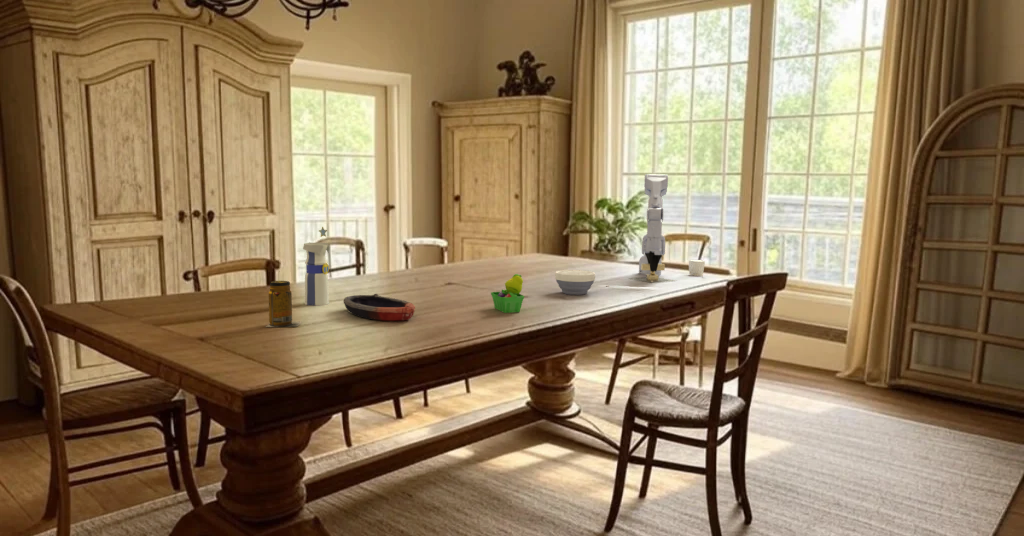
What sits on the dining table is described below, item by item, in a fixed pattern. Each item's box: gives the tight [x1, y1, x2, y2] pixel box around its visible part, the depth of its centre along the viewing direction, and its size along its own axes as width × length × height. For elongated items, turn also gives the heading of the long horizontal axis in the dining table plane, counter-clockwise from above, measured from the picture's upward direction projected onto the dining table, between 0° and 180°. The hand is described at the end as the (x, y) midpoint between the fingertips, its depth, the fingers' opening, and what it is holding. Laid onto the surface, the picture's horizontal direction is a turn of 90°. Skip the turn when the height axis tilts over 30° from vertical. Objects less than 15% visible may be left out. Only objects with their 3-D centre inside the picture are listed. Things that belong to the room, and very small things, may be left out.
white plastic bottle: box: [302, 226, 330, 307], centre depth 229 cm, size 8×9×25 cm
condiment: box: [265, 280, 303, 328], centre depth 196 cm, size 7×8×12 cm
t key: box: [641, 263, 666, 280], centre depth 291 cm, size 9×4×6 cm, turn 90°
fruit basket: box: [490, 273, 525, 314], centre depth 224 cm, size 11×9×11 cm
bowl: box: [554, 269, 596, 296], centre depth 259 cm, size 14×14×8 cm
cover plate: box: [628, 276, 677, 284], centre depth 291 cm, size 14×14×1 cm
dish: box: [343, 293, 416, 322], centre depth 212 cm, size 16×31×5 cm, turn 42°
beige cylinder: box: [688, 259, 706, 277], centre depth 311 cm, size 7×7×7 cm
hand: (652, 270), depth 291 cm, fingers closed on t key, 2 cm apart
